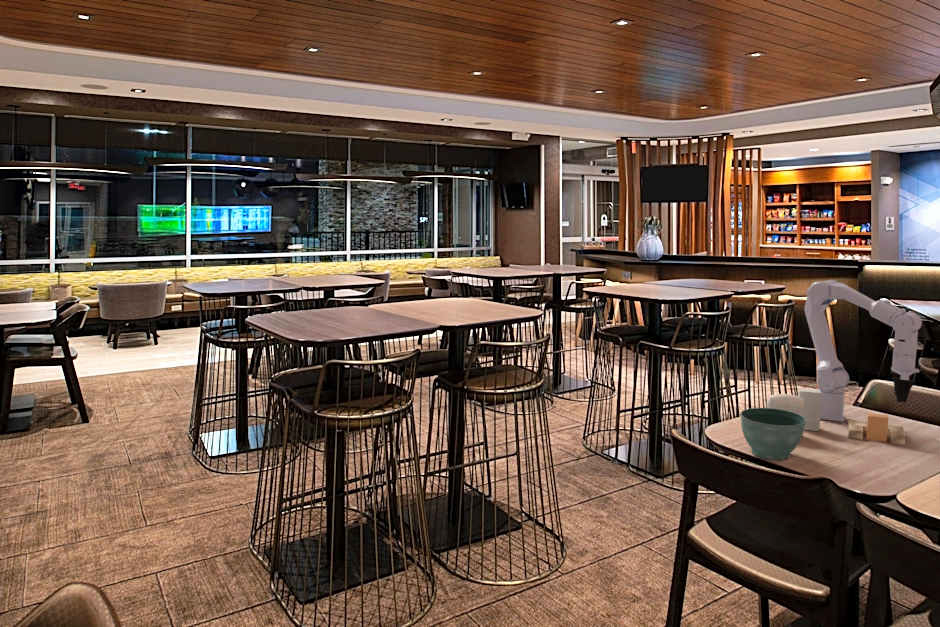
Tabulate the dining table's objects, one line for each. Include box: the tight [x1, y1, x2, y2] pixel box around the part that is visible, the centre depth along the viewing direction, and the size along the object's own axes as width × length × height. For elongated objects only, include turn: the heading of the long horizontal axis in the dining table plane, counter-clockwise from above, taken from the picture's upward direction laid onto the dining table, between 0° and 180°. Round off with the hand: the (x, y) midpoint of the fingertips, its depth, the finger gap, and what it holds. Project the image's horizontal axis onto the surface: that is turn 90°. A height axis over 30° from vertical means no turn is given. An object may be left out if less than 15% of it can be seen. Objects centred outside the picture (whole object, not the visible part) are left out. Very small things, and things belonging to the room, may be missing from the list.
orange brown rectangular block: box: [865, 412, 889, 442], centre depth 201 cm, size 5×3×7 cm, turn 63°
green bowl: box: [740, 407, 806, 461], centre depth 187 cm, size 16×16×11 cm
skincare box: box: [797, 388, 822, 432], centre depth 210 cm, size 6×4×12 cm
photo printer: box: [766, 393, 805, 417], centre depth 204 cm, size 10×4×12 cm, turn 73°
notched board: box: [847, 419, 907, 446], centre depth 203 cm, size 14×11×2 cm
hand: (900, 398), depth 205 cm, fingers open, 7 cm apart
